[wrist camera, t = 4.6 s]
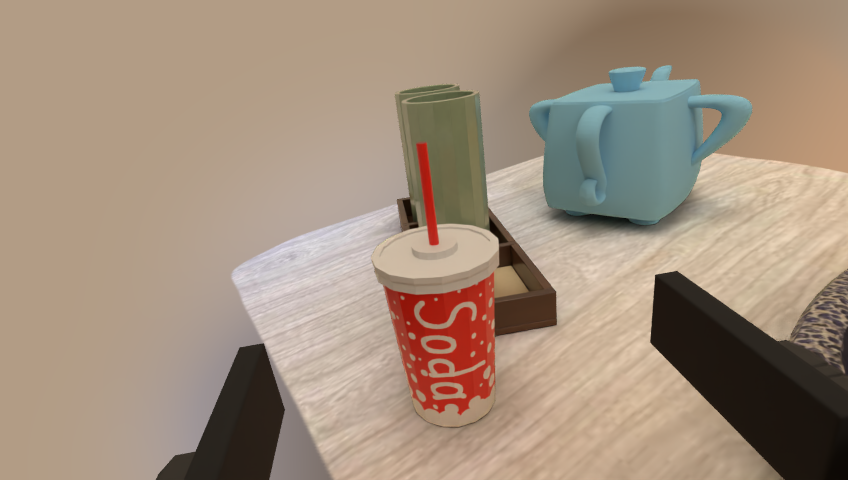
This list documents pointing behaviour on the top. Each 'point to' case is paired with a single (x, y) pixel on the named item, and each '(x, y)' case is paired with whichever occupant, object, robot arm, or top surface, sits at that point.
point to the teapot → (630, 143)
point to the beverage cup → (442, 311)
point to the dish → (827, 324)
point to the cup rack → (509, 281)
